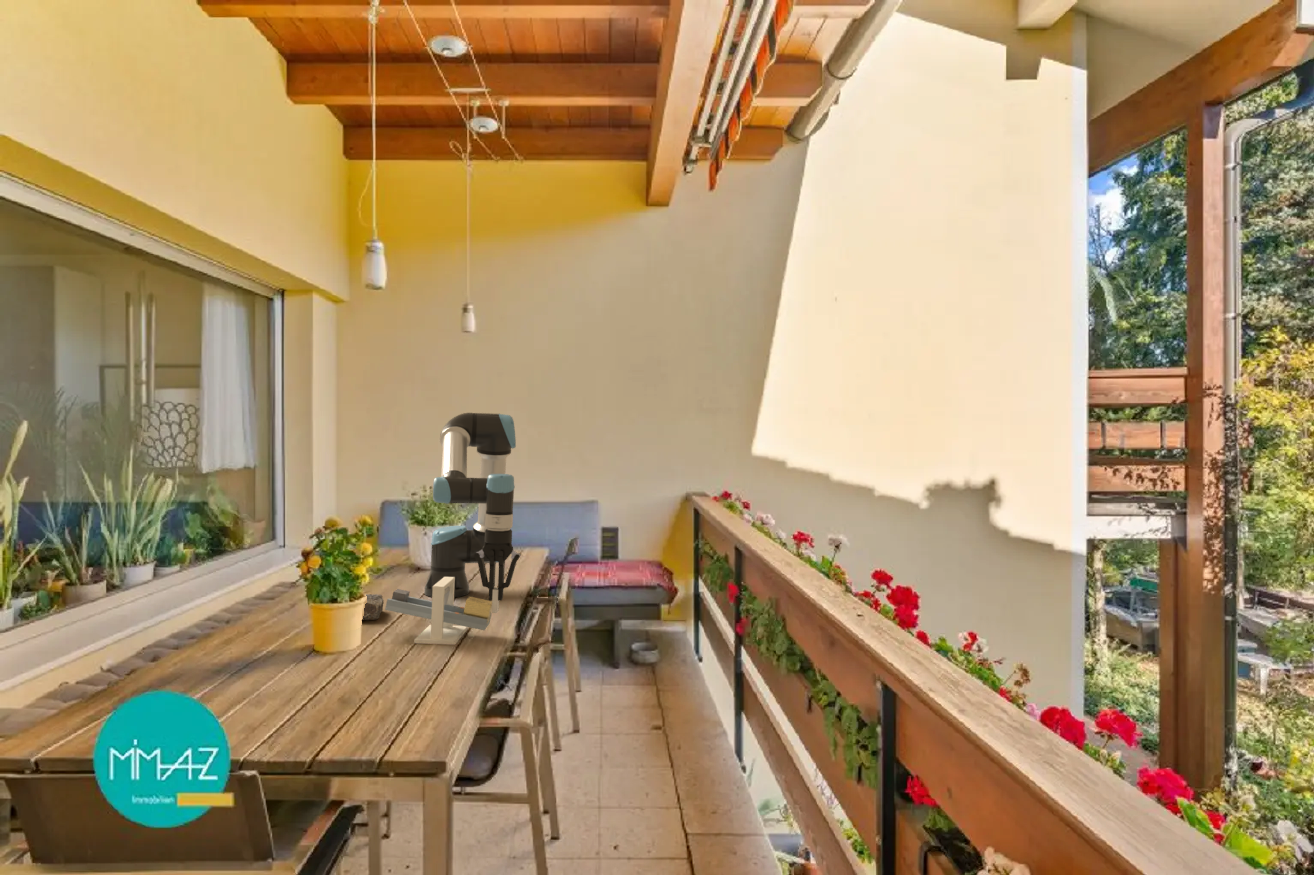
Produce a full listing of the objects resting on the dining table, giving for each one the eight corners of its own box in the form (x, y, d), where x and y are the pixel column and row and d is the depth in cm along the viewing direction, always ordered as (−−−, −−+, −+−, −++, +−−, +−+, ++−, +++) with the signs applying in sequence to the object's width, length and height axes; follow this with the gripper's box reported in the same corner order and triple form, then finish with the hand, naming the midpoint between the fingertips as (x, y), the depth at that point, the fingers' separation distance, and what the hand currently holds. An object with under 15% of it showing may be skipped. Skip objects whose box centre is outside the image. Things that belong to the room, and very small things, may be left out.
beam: (394, 602, 197) (400, 576, 197) (490, 622, 199) (495, 596, 198) (383, 610, 189) (389, 582, 189) (483, 631, 190) (489, 603, 190)
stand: (429, 628, 201) (431, 575, 200) (467, 629, 201) (469, 576, 201) (414, 643, 187) (416, 586, 186) (455, 644, 187) (457, 588, 187)
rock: (349, 610, 216) (332, 625, 201) (349, 590, 216) (332, 603, 201) (390, 609, 218) (377, 624, 203) (390, 589, 218) (377, 603, 203)
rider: (465, 615, 196) (469, 596, 196) (489, 620, 196) (493, 601, 196) (462, 619, 192) (466, 599, 192) (486, 624, 192) (490, 605, 192)
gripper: (472, 529, 190) (469, 614, 190) (519, 531, 191) (516, 615, 191) (478, 525, 198) (475, 607, 198) (523, 527, 198) (520, 608, 199)
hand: (495, 611), depth 195 cm, fingers closed
